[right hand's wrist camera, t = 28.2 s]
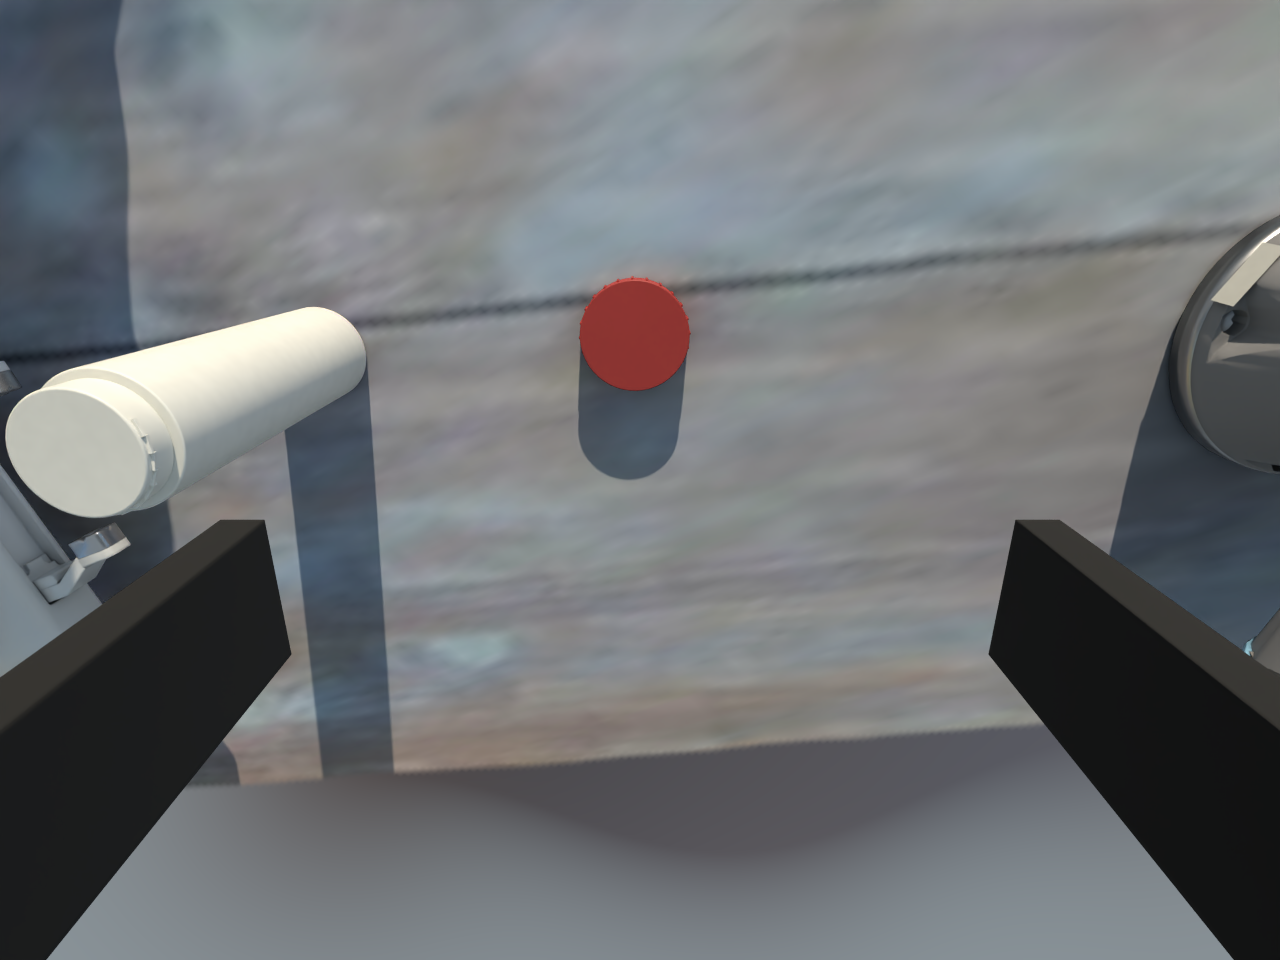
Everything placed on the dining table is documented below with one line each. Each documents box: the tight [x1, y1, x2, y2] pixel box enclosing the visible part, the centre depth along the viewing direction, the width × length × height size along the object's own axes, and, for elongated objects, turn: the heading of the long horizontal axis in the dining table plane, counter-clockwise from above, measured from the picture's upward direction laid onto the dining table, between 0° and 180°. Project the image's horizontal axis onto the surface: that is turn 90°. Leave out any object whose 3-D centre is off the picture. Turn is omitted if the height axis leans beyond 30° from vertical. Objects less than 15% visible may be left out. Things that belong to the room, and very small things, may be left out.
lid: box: [579, 276, 691, 391], centre depth 40 cm, size 6×6×2 cm
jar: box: [5, 307, 366, 518], centre depth 32 cm, size 5×5×19 cm
